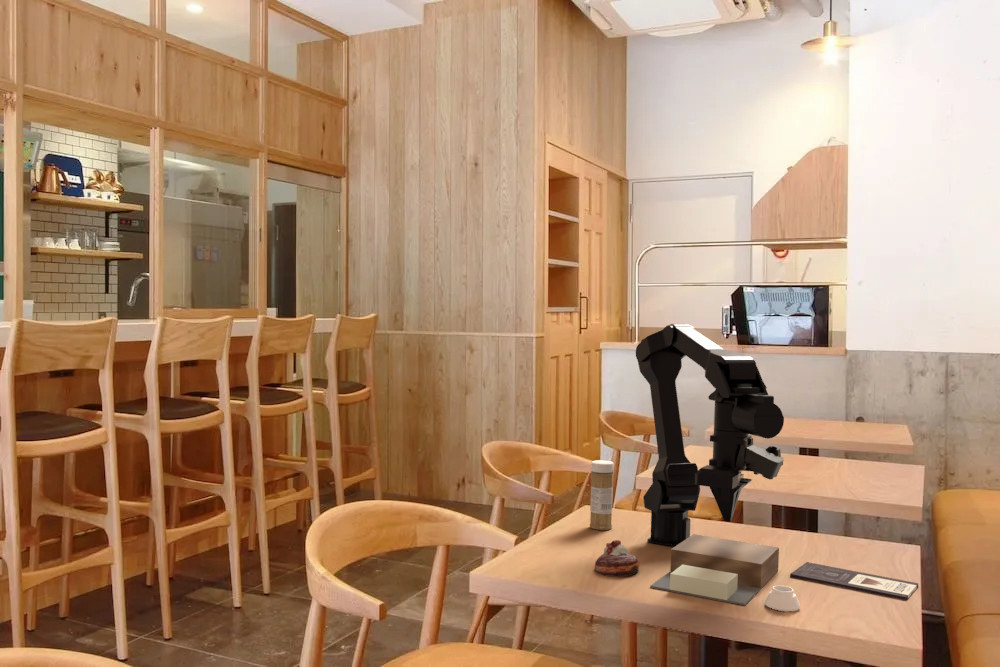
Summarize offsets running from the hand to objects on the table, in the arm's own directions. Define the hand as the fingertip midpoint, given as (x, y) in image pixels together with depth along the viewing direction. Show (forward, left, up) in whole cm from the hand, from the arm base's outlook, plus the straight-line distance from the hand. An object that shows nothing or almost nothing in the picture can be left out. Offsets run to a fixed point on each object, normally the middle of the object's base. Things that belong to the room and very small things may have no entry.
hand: (727, 520), depth 150 cm
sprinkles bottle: (-29, +14, -9) cm, 34 cm away
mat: (0, -12, -9) cm, 14 cm away
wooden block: (0, -1, -9) cm, 9 cm away
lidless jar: (+12, -13, -9) cm, 20 cm away
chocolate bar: (+19, +6, -9) cm, 22 cm away
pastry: (-15, -11, -9) cm, 21 cm away
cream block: (0, -13, -6) cm, 14 cm away
